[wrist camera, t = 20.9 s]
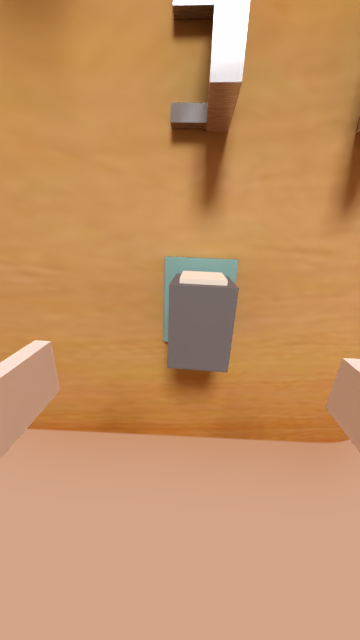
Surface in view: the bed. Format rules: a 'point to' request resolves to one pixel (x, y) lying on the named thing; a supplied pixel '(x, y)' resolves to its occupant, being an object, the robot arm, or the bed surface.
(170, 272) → the mat
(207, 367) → the grey rectangular block
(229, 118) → the channel
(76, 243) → the bed surface
